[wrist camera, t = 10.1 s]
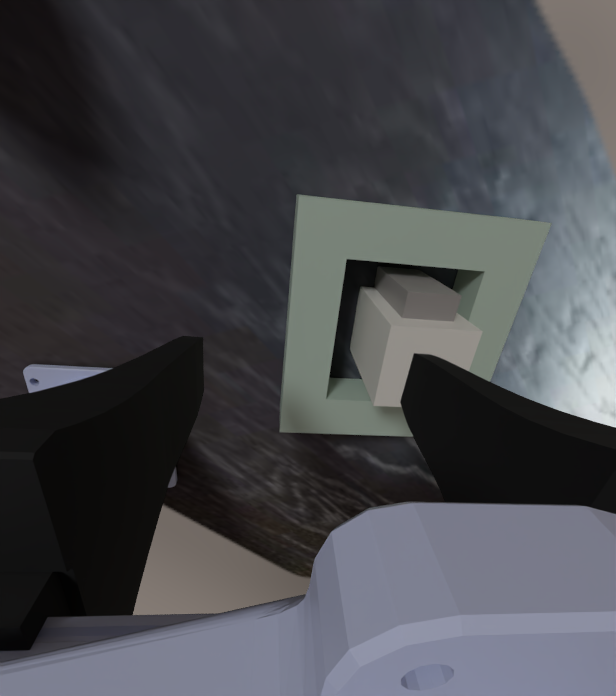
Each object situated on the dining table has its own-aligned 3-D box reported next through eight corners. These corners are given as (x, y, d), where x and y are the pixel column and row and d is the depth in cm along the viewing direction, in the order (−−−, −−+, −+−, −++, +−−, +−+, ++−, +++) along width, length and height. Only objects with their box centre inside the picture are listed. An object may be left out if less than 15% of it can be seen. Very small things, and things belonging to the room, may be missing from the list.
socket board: (450, 414, 24) (467, 438, 21) (279, 407, 22) (279, 432, 20) (517, 218, 18) (551, 223, 16) (296, 194, 17) (298, 195, 14)
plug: (411, 352, 21) (455, 409, 16) (349, 348, 21) (373, 405, 15) (432, 270, 19) (492, 304, 14) (363, 264, 18) (397, 297, 13)
